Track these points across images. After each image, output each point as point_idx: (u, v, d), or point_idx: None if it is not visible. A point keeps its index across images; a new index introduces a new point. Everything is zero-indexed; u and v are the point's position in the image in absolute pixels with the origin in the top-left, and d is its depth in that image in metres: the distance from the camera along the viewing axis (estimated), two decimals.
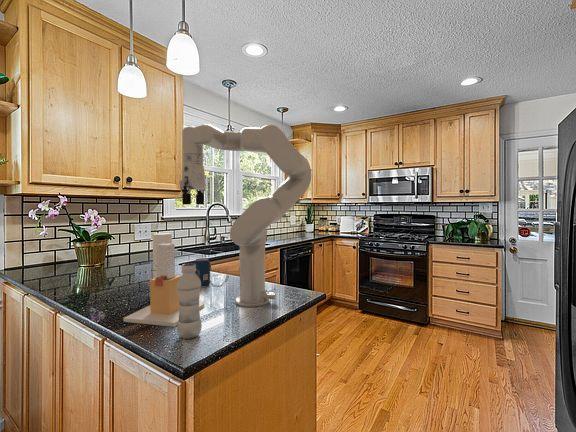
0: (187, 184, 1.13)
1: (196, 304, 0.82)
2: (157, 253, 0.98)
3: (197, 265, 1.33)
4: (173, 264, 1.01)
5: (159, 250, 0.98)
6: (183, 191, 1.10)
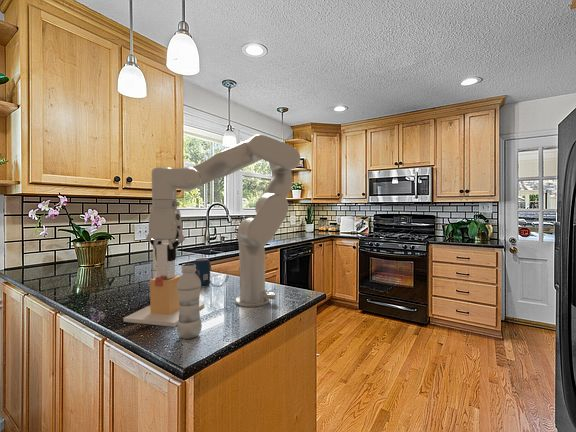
0: None
1: (196, 304, 0.82)
2: (157, 253, 0.98)
3: (197, 265, 1.33)
4: (173, 264, 1.01)
5: (159, 250, 0.98)
6: (175, 246, 0.99)
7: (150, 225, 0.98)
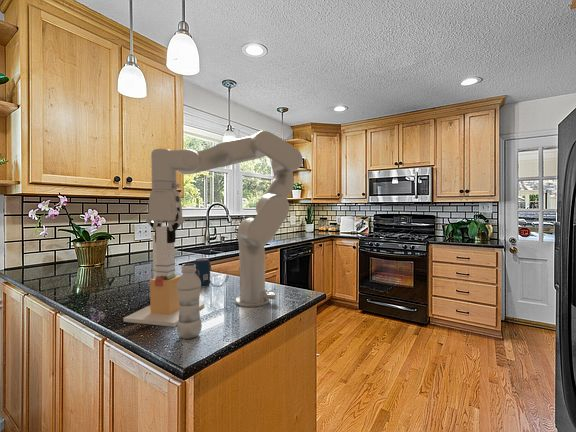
0: None
1: (196, 304, 0.82)
2: (157, 235, 0.98)
3: (197, 265, 1.33)
4: (173, 246, 1.01)
5: (159, 232, 0.98)
6: (175, 228, 0.99)
7: (150, 207, 0.98)
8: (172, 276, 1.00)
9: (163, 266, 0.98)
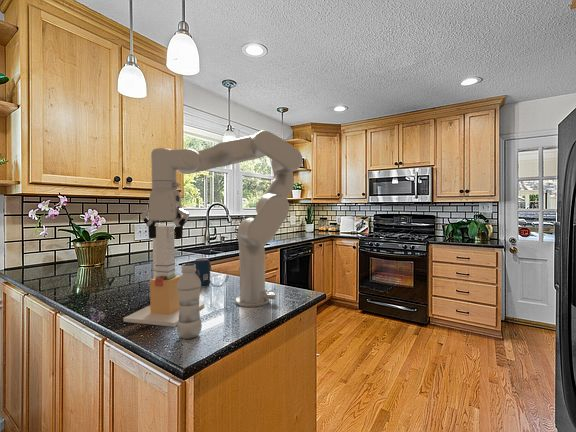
0: None
1: (196, 304, 0.82)
2: (157, 235, 0.98)
3: (197, 265, 1.33)
4: (173, 246, 1.01)
5: (159, 232, 0.98)
6: (182, 224, 0.98)
7: (150, 206, 0.98)
8: (172, 276, 1.00)
9: (163, 266, 0.98)
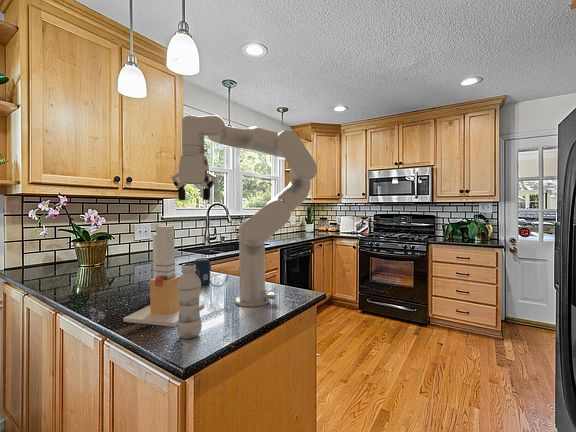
0: None
1: (196, 304, 0.82)
2: (157, 235, 0.98)
3: (197, 265, 1.33)
4: (173, 246, 1.01)
5: (159, 232, 0.98)
6: (210, 186, 1.06)
7: (180, 170, 1.06)
8: (172, 276, 1.00)
9: (163, 266, 0.98)
